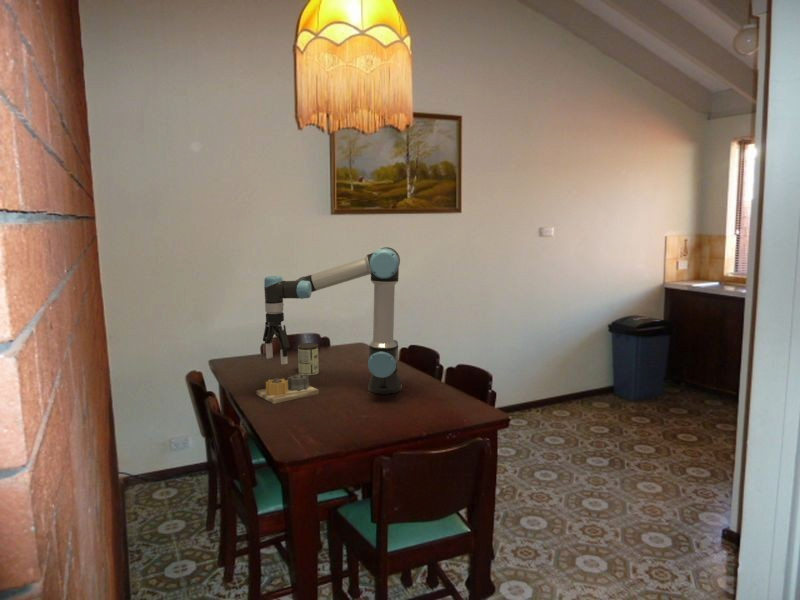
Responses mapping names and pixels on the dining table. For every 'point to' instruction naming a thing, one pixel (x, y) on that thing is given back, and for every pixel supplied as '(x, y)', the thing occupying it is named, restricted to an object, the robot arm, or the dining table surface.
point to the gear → (277, 387)
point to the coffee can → (308, 359)
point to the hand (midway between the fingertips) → (276, 360)
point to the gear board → (291, 389)
